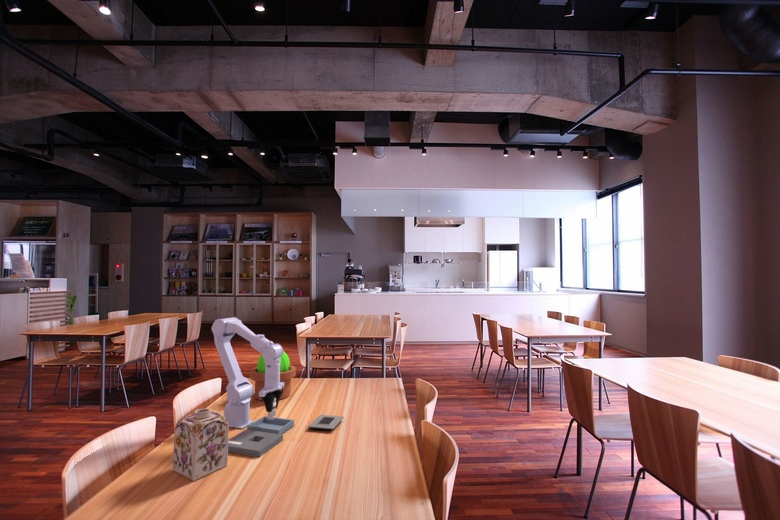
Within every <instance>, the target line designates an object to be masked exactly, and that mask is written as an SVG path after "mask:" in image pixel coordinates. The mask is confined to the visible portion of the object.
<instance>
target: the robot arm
mask: <svg viewBox="0 0 780 520" xmlns="http://www.w3.org/2000/svg"><path fill="white" fill-rule="evenodd" d="M211 332H212V334H213V337H214V338H213V340H214V346H215V348H216V350H217V352H218V355H219V359H220V361H221V365H222V367H223V369H224V372H225V374H226V378H227V380H228V384H227V386H226V387H225V391H226V398H227V403H226V404H225V406H224V410H223V415H224V417H225V419H226V420H227V422H228V423H229V428H233V427H234V428H235V429H243V428H246V427H247V426H248V425H250V424H252V423H253V422H255V420H252V419H250V412H251V411H250V408H251V406H250V403H251V400H252V397H253V396H254V395H255V387H254V385H253V384H252V383H251V382H250V381H249V380H250V379H249V378H247V377H245V376H244V375H243V373H242V370H241V368H240V366H239V363H238V359H237V358H236V354H235V351H234V350H233V347H232V345H231V339H232V338H233V337H234V336H235V334H237V335H238V336H240V337H242V338H243V339H245V340H246V341H247V342H250V347H252V348H253V349H255V351H257V352H259V353H260V355H261V354H262V356H263V358H264V360H265V387H264V388H263V389H262V390H261V391H259V397H261V398H262V399H263V400H262V401H263V404H264V407H265V412H266V413H268V412H272V408H273V401H274V398H275V397H276V410H277V409H278V407H279V406H278V405H279V403H280V400H279V399H280V397H281V395H282V393H283V390H281V389H282V387H284V382H280V357H281V356H282V355H283V351H284V348H283V346H282V345H281V344H280V343H274V342H273V341H272V340H269V339H267V338H266V337H265V334H255V332H254V331H252V330H251V329H249V328H248V327H247V326H246V325H244V323H243V322H242V320H241V319H239V318H237V317H236V316H233V317H226V318H217V319H215V321H214V322H213V323H212V326H211ZM234 428H233V429H234Z"/></svg>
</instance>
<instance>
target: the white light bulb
mask: <svg viewBox="0 0 780 520" xmlns="http://www.w3.org/2000/svg"><path fill="white" fill-rule="evenodd" d="M276 413H277V409H276V397H275V398H274V401H273V408H272V412H267V419H268V420H274V419H276V418H277V415H276Z"/></svg>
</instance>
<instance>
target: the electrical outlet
mask: <svg viewBox="0 0 780 520" xmlns="http://www.w3.org/2000/svg"><path fill="white" fill-rule="evenodd" d="M344 418H345V416H342V415H341V416H339V415H327V414H320V415H319V416H317V417H316V418H315V419H314V420H313V421H312V422H311V423H310V424H309V425H308V426H307V427H308V429H314V430H325V431H333V430H335V428H336V427H338V425H339V424H340V423H341V422H342V420H344Z"/></svg>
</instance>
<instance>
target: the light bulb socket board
mask: <svg viewBox="0 0 780 520" xmlns="http://www.w3.org/2000/svg"><path fill="white" fill-rule="evenodd" d="M283 440H284V434H282V435H281V434H274V433H267V432H260V431H253V430H247V429H245V430H243V431H241V432H240V433H238V434H236V435H234V436H233V437H230V438H228V453H232V454H238V455H245V456H251V457H255V458H261V457H263V456H264V455H265V454H266V453H268V452H269V451H271V449H274V447H276V446H277V445H279V444H280V443H281V442H282V441H283Z"/></svg>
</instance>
